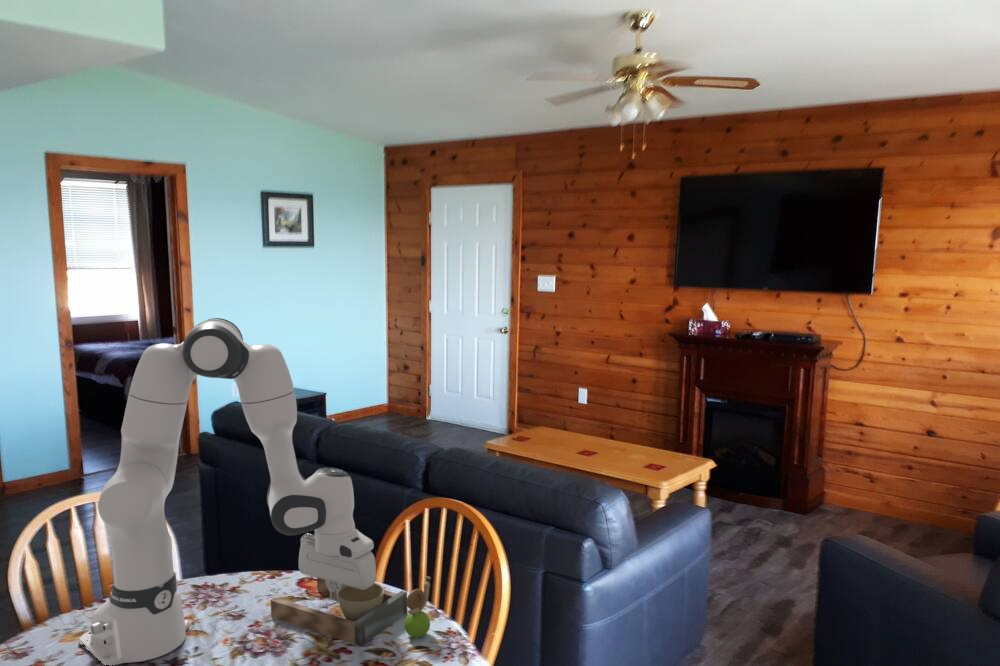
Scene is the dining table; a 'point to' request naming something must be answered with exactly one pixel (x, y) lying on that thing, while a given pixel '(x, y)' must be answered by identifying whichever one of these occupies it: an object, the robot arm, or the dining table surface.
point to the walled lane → (340, 627)
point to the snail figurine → (417, 612)
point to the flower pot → (359, 601)
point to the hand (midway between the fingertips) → (337, 599)
